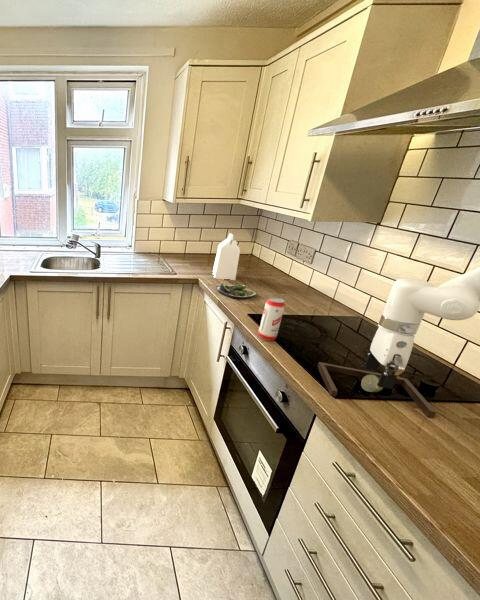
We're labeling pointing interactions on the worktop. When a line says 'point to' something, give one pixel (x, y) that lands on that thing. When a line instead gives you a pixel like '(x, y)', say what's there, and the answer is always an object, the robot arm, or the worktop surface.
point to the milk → (226, 259)
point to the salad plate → (235, 291)
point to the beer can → (271, 318)
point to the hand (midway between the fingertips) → (377, 377)
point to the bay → (361, 373)
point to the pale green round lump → (370, 383)
